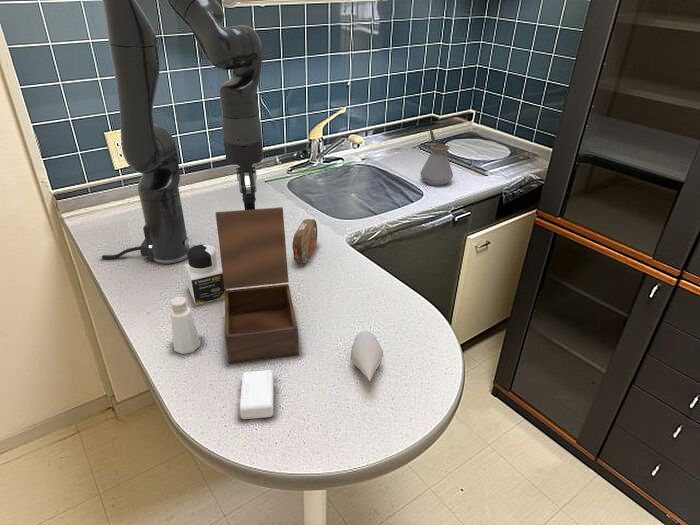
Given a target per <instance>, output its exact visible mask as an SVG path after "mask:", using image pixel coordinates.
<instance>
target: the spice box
mask: <svg viewBox="0 0 700 525" xmlns="http://www.w3.org/2000/svg"><path fill="white" fill-rule="evenodd" d="M224 338H225V345H226V352H227V358H228V359H227V360H228V365H232V364H233V365H234V364H240V363H247V362H255V361H262V360H269V359H276V358H284V357H293V356H299V355H300V347H299V328H298V322H297V317H296V312H295V307H294V304H293V299H292V294H291V288H290V284H289V283H282V284H273V285H263V286H254V287H244V288H234V289H226V291H225V298H224Z"/></svg>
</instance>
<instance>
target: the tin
mask: <svg viewBox="0 0 700 525" xmlns="http://www.w3.org/2000/svg"><path fill="white" fill-rule="evenodd" d="M317 224H318V223H317V221H316V219H315V218H312V219H311V218H306V219H304V220H302V222H301V223H300V225H299V226H298V228H297V230H296V231H295V233H294V235H293V239H292V246H291V247H292V253H293V254H292V255H293V261H294V262H295V263H297V264H308V262H309V260H310V258H311V256H312V255H313V253H314V251H315V249H316V247H317V243H318V225H317Z"/></svg>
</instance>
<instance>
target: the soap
mask: <svg viewBox="0 0 700 525" xmlns="http://www.w3.org/2000/svg"><path fill="white" fill-rule="evenodd" d="M274 379H275V378H274V372H273V371H272V370H271V369H266V370H265V369H264V370H255V371H254V370H253V371H244V372H243V373H242V376H241V387H240V398H239V416H240V418H241V419H242V420H250V419H263V418H271V417H273V415H274V394H275V393H274V391H275V389H274V382H275V381H274Z"/></svg>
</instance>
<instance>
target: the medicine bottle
mask: <svg viewBox="0 0 700 525" xmlns="http://www.w3.org/2000/svg"><path fill="white" fill-rule="evenodd" d="M217 259H218V258H217V252H216V248H215V247H214V246H213V245H211V244H205V243H202V244H201V243H200V244H196V245H193V246H191V247H189V250H188V251H187V262H188V263H185V264H184V269H185V275H186V281H187V286H188V290H189V291H188V292H189V293H190V295H191V298H192V300H193V303H194V305H196V306H198V305H199V306H200V305H203V304H207V303H210V302H214V301H218V300H219V301H220V300H222V299H225V291H226V290H227V289H224V281H223V273H222V266H221V265H220V263H219V262H218V260H217Z"/></svg>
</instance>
